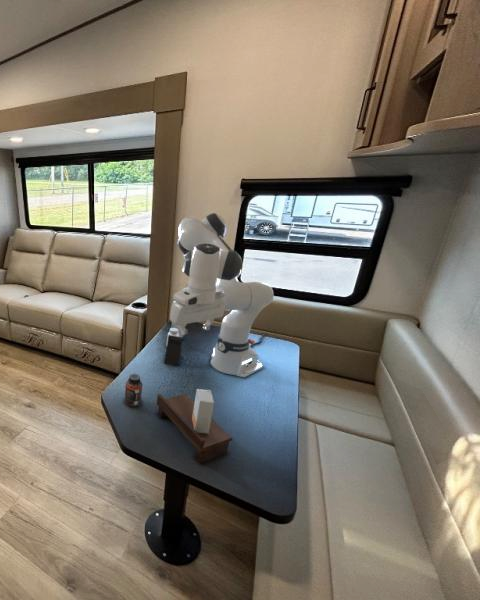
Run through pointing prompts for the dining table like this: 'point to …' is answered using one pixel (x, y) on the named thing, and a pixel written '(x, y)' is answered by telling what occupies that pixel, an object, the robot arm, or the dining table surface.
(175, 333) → the supplement bottle
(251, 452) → the dining table surface
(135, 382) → the supplement bottle
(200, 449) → the dark wooden riser
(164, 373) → the dining table surface
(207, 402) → the cosmetic box
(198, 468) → the dining table surface
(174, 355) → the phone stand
